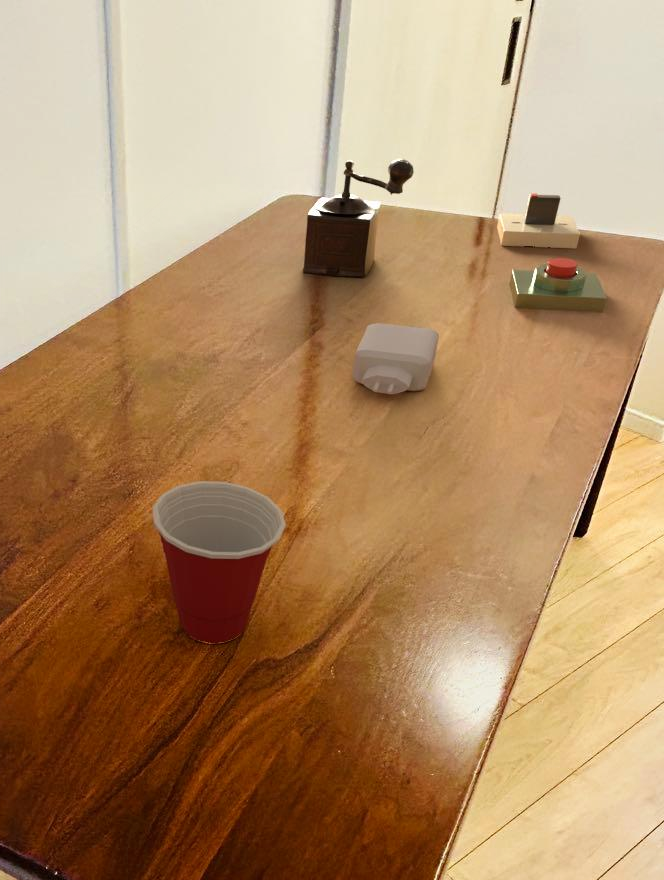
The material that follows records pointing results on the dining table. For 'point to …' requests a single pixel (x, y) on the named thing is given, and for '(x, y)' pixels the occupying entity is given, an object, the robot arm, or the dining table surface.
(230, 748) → the dining table surface
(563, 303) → the control block
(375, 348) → the charger
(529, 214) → the upright dark panel
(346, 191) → the manual coffee grinder
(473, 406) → the dining table surface
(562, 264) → the button
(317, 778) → the dining table surface
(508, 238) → the cream slotted base block
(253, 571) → the plastic cup
